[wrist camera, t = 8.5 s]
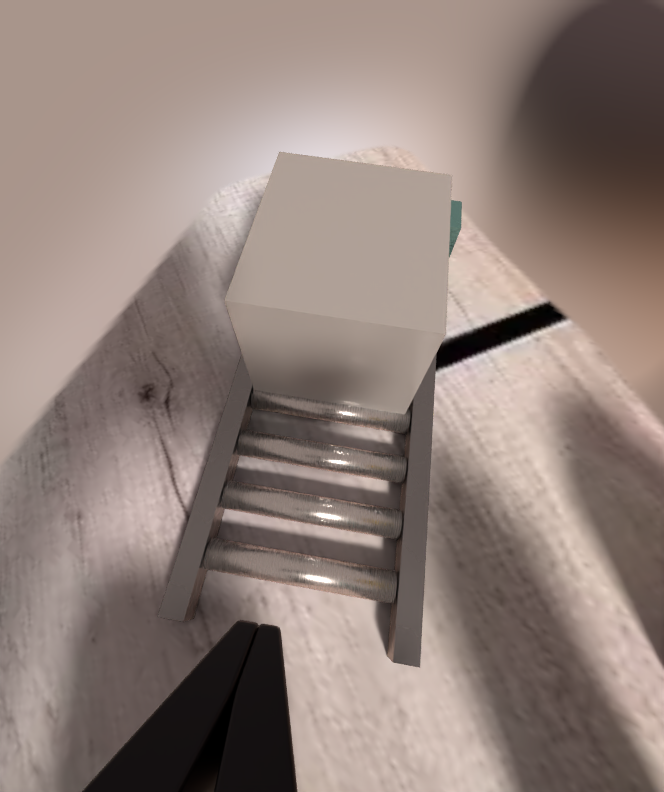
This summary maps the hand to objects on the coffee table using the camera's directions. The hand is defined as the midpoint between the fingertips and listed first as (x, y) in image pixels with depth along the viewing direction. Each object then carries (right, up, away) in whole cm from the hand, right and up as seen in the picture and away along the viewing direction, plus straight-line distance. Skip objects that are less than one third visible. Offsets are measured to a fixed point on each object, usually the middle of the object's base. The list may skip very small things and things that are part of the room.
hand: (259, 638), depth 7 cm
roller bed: (+1, +4, +16) cm, 17 cm away
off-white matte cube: (+2, +9, +17) cm, 19 cm away
